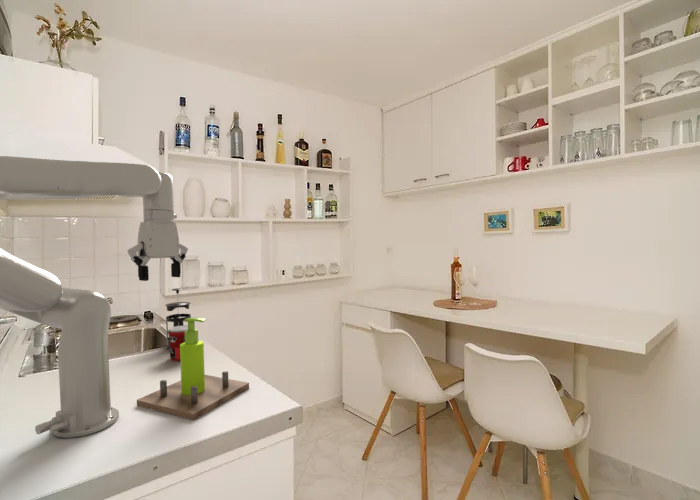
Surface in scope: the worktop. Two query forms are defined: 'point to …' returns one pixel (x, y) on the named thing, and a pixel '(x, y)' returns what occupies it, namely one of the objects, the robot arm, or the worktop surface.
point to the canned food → (176, 341)
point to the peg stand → (193, 397)
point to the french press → (175, 317)
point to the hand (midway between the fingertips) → (160, 278)
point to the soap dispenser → (192, 359)
